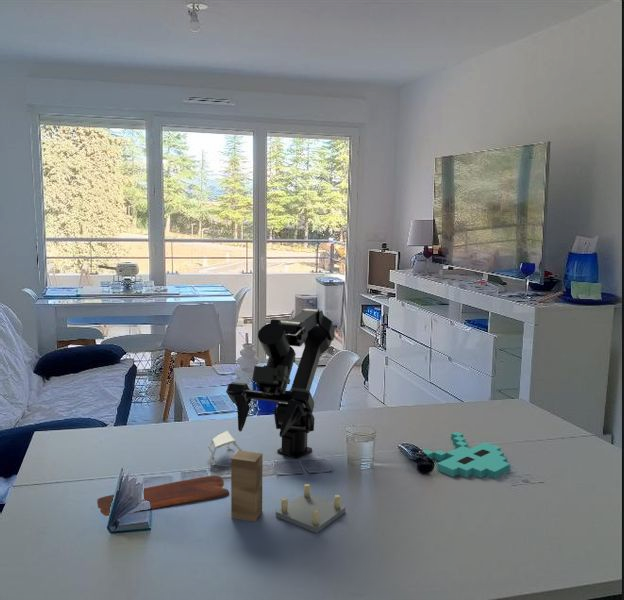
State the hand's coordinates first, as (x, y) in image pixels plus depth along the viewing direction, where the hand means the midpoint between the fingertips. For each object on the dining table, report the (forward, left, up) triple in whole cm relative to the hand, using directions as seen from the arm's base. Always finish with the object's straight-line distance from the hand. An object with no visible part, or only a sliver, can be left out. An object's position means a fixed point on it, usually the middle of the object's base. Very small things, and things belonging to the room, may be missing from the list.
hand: (259, 433), depth 126 cm
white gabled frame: (-10, -20, -14) cm, 26 cm away
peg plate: (0, +13, -14) cm, 19 cm away
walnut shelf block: (+8, +3, -14) cm, 16 cm away
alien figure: (-44, +28, -15) cm, 55 cm away
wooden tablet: (+13, -16, -15) cm, 25 cm away
